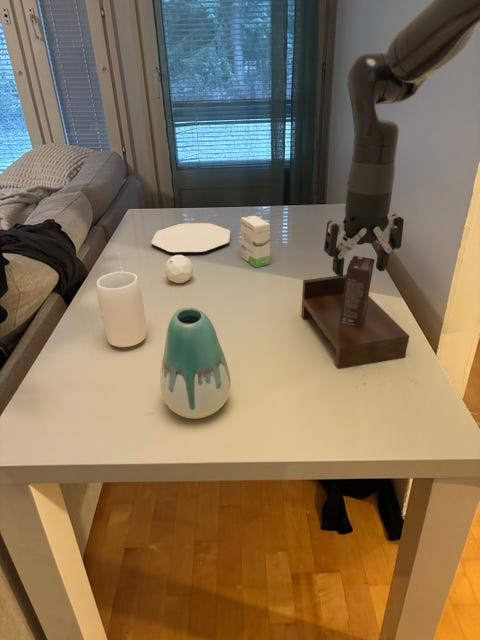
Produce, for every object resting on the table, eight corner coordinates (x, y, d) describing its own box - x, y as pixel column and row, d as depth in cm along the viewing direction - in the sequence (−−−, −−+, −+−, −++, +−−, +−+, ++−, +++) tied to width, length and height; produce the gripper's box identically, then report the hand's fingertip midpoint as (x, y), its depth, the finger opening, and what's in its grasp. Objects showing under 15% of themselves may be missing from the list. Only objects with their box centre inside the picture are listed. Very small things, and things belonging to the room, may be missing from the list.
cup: (145, 352, 93) (135, 289, 86) (103, 353, 93) (89, 290, 86) (150, 329, 101) (142, 269, 93) (111, 331, 100) (99, 271, 93)
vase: (235, 424, 75) (232, 330, 66) (163, 432, 74) (149, 338, 65) (227, 379, 85) (223, 293, 76) (163, 386, 84) (151, 299, 75)
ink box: (270, 264, 128) (271, 223, 122) (254, 268, 126) (254, 226, 120) (255, 253, 134) (255, 214, 128) (240, 257, 133) (239, 217, 126)
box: (362, 327, 90) (369, 270, 84) (339, 322, 92) (345, 266, 86) (367, 312, 95) (375, 257, 89) (345, 308, 96) (351, 254, 90)
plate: (228, 255, 134) (228, 250, 133) (146, 256, 134) (145, 251, 134) (231, 227, 154) (231, 222, 153) (160, 228, 155) (159, 223, 154)
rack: (359, 307, 106) (363, 272, 102) (405, 357, 90) (413, 317, 85) (301, 316, 104) (303, 280, 99) (337, 369, 87) (341, 328, 83)
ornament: (198, 283, 118) (182, 267, 112) (173, 291, 121) (156, 275, 115) (198, 261, 122) (183, 244, 115) (174, 269, 124) (157, 252, 118)
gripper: (340, 196, 75) (332, 285, 84) (419, 188, 78) (403, 276, 86) (322, 184, 82) (316, 268, 90) (396, 177, 84) (384, 260, 93)
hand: (359, 272), depth 88 cm, fingers open, 8 cm apart
